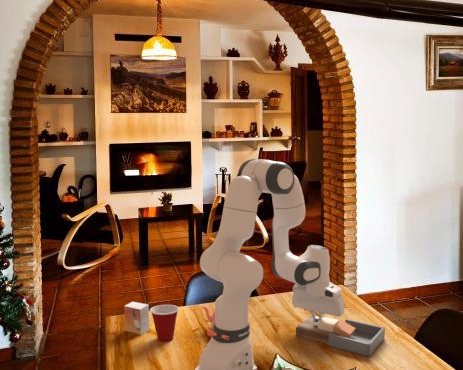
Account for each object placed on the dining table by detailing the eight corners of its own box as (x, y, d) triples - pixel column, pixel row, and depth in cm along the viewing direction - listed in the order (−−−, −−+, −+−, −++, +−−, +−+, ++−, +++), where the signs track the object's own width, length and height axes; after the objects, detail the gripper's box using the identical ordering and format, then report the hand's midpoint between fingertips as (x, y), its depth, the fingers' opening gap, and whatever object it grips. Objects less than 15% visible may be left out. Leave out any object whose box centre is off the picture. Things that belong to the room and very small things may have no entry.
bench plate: (331, 344, 179) (331, 337, 179) (295, 335, 187) (295, 327, 187) (345, 331, 190) (345, 324, 189) (310, 322, 198) (311, 315, 197)
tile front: (347, 340, 179) (349, 334, 179) (332, 331, 182) (334, 325, 181) (353, 333, 184) (355, 328, 183) (339, 325, 187) (341, 320, 186)
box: (369, 357, 170) (369, 344, 169) (328, 346, 178) (328, 334, 178) (384, 339, 183) (384, 327, 182) (345, 329, 191) (345, 318, 190)
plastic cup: (183, 332, 191) (182, 303, 190) (175, 345, 181) (174, 314, 179) (156, 331, 193) (155, 301, 191) (147, 344, 183) (145, 313, 181)
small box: (124, 331, 194) (123, 305, 192) (133, 326, 198) (132, 300, 197) (141, 335, 190) (139, 309, 188) (150, 329, 195) (148, 304, 193)
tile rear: (332, 332, 182) (332, 325, 182) (317, 328, 186) (317, 322, 185) (339, 326, 187) (339, 319, 187) (324, 322, 191) (324, 316, 190)
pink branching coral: (244, 337, 187) (244, 310, 185) (198, 335, 189) (197, 309, 188) (248, 324, 198) (248, 299, 196) (204, 322, 201) (203, 297, 199)
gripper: (289, 284, 190) (289, 319, 192) (339, 294, 179) (339, 331, 181) (296, 280, 195) (296, 313, 197) (346, 289, 184) (345, 324, 186)
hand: (317, 322), depth 189 cm, fingers closed
